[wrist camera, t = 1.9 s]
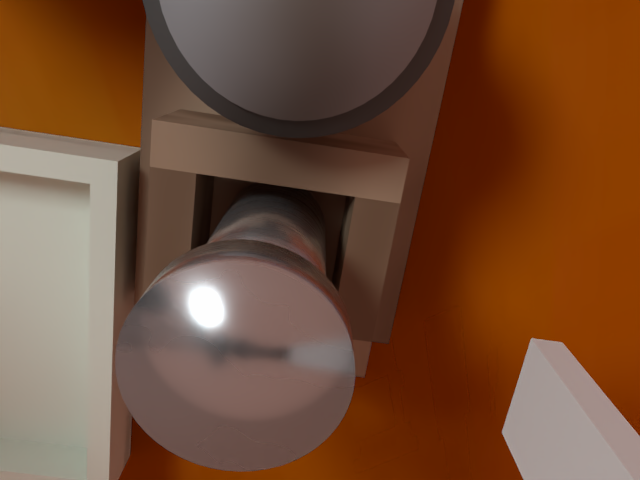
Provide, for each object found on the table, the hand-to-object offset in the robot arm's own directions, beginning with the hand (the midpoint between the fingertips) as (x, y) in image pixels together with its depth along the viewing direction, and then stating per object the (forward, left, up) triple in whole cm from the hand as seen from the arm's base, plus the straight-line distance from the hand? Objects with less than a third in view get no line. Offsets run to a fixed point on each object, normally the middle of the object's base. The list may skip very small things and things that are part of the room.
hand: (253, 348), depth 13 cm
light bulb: (0, 0, -9) cm, 9 cm away
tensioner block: (0, +4, -11) cm, 12 cm away
